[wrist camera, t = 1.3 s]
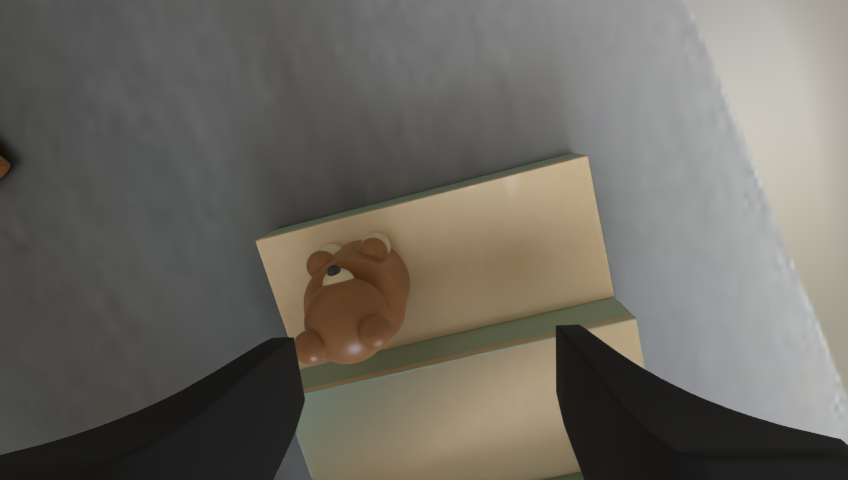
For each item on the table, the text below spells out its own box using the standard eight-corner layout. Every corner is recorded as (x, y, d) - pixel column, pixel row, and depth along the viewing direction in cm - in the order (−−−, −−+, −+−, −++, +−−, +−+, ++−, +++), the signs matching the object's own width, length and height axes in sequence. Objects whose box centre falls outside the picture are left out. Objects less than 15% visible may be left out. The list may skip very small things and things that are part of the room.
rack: (350, 461, 27) (323, 562, 21) (273, 229, 24) (214, 264, 18) (620, 403, 26) (680, 492, 19) (572, 152, 23) (623, 160, 17)
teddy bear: (336, 332, 23) (298, 408, 16) (308, 245, 22) (257, 290, 16) (419, 312, 22) (412, 382, 16) (394, 223, 21) (377, 260, 15)
